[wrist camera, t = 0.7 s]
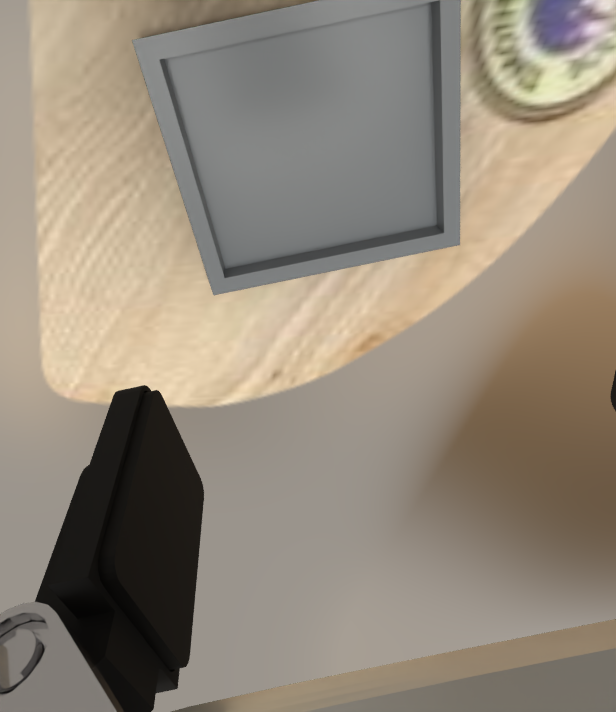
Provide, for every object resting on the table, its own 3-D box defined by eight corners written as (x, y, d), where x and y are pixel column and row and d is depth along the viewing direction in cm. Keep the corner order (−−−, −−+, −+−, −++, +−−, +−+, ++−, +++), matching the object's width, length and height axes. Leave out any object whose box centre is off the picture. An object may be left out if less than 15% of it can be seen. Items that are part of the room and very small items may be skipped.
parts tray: (140, 38, 26) (131, 40, 24) (445, -27, 25) (460, -31, 24) (215, 280, 34) (213, 295, 32) (448, 232, 33) (459, 244, 32)
